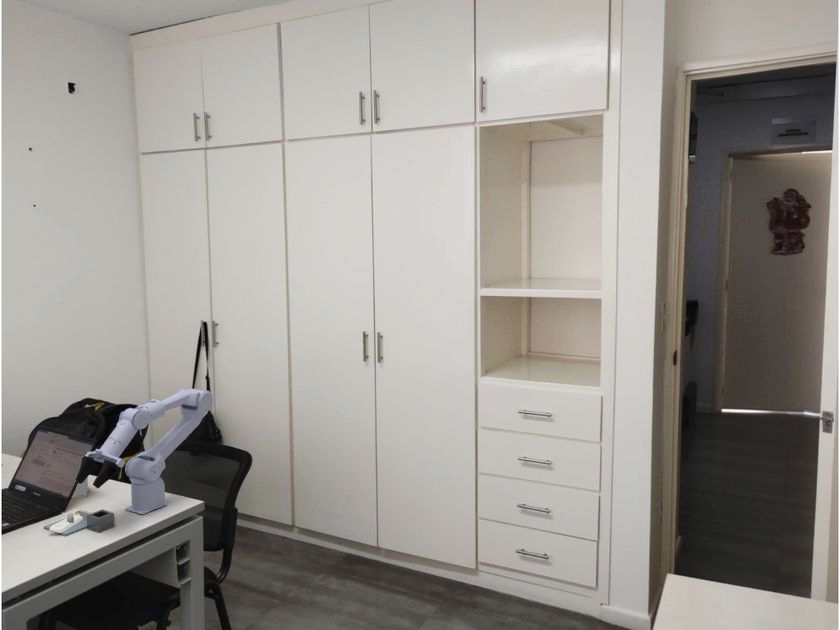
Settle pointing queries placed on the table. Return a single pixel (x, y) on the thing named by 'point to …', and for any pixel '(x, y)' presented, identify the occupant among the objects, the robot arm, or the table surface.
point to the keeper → (70, 519)
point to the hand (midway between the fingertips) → (86, 484)
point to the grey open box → (100, 520)
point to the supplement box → (81, 490)
